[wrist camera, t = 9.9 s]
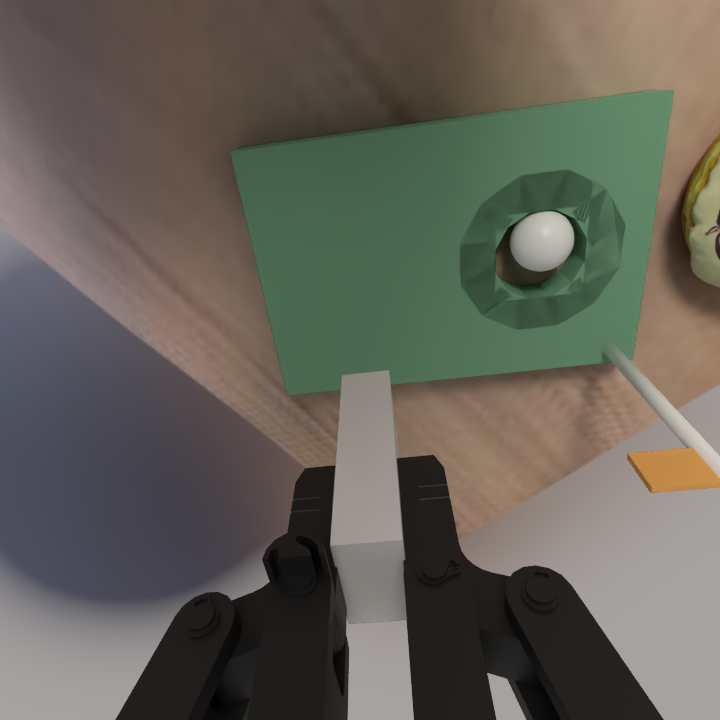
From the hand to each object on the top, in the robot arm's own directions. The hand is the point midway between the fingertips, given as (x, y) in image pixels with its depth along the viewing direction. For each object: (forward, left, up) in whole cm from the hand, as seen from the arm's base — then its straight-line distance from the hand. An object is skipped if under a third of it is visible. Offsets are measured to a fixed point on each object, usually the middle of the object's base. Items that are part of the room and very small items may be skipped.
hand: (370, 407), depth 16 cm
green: (+1, +5, -16) cm, 17 cm away
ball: (0, +10, -14) cm, 17 cm away
